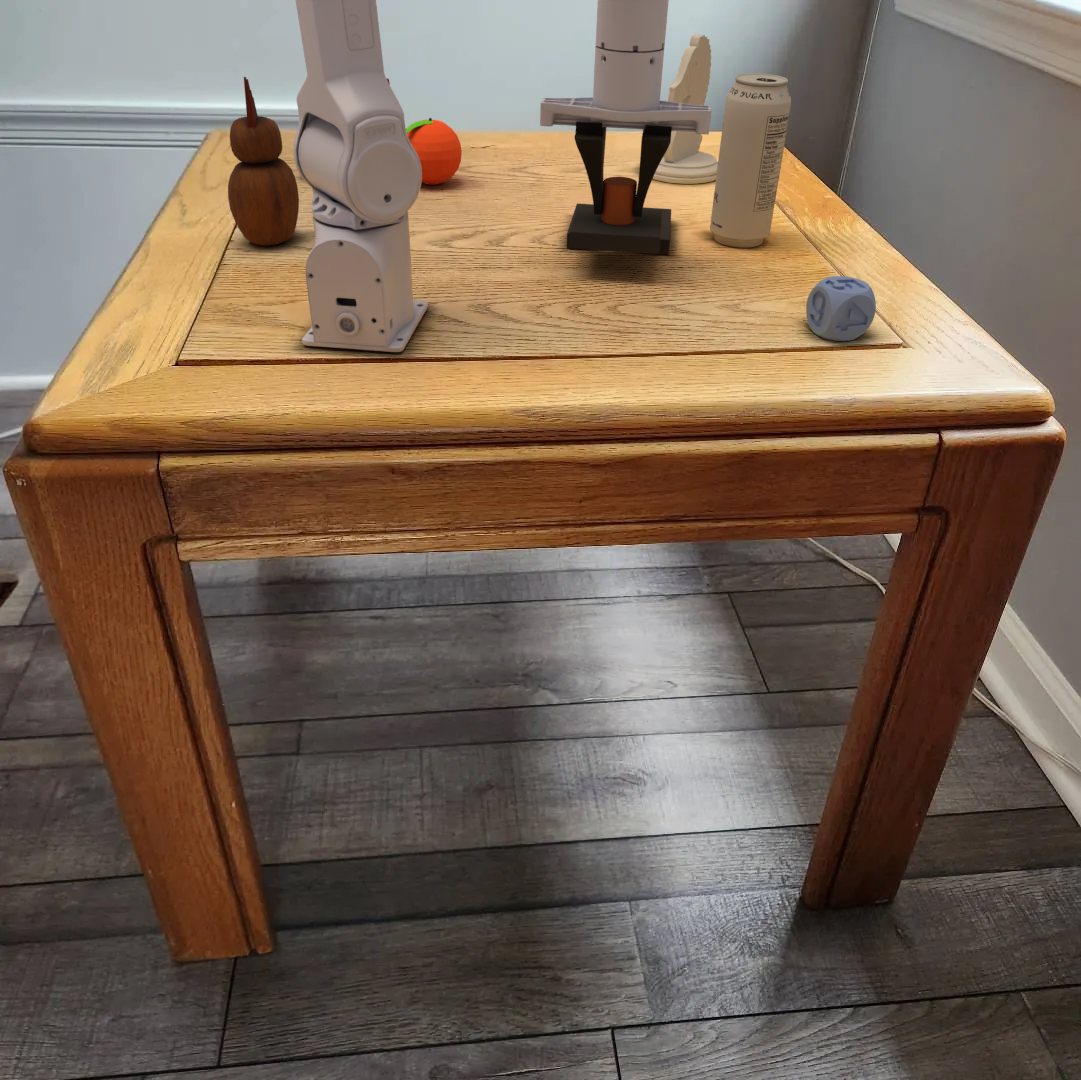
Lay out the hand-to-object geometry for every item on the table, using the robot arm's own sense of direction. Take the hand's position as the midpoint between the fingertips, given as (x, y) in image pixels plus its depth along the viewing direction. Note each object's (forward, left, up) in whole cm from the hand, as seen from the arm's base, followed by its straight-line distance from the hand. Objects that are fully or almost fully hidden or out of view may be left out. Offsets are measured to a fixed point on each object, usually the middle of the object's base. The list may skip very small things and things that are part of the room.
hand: (618, 212), depth 87 cm
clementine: (+23, +23, -5) cm, 33 cm away
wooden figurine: (+1, +34, -5) cm, 34 cm away
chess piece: (+34, -6, -5) cm, 35 cm away
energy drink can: (+10, -12, -5) cm, 17 cm away
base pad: (+9, 0, -5) cm, 11 cm away
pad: (+2, 0, -2) cm, 3 cm away
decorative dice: (-12, -19, -5) cm, 23 cm away
